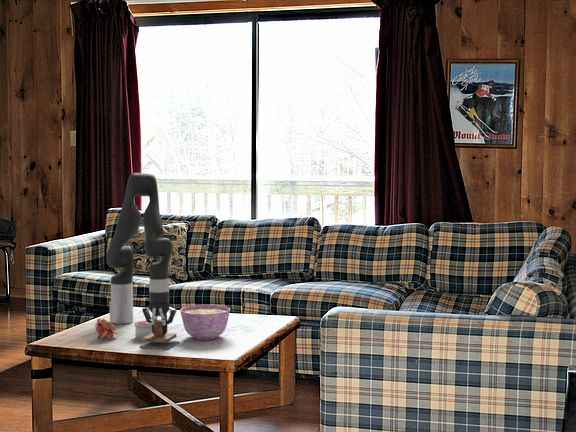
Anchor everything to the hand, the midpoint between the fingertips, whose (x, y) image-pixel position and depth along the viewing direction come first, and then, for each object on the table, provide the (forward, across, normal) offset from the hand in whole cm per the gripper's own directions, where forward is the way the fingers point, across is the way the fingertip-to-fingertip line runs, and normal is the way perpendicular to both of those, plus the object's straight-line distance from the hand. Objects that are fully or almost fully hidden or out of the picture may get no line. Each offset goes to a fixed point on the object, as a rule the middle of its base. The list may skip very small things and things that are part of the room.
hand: (159, 334), depth 323 cm
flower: (+5, -25, +6) cm, 26 cm away
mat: (+4, 0, 0) cm, 4 cm away
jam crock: (+4, -10, +11) cm, 15 cm away
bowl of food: (+5, +13, +16) cm, 21 cm away
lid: (+2, 0, 0) cm, 2 cm away
